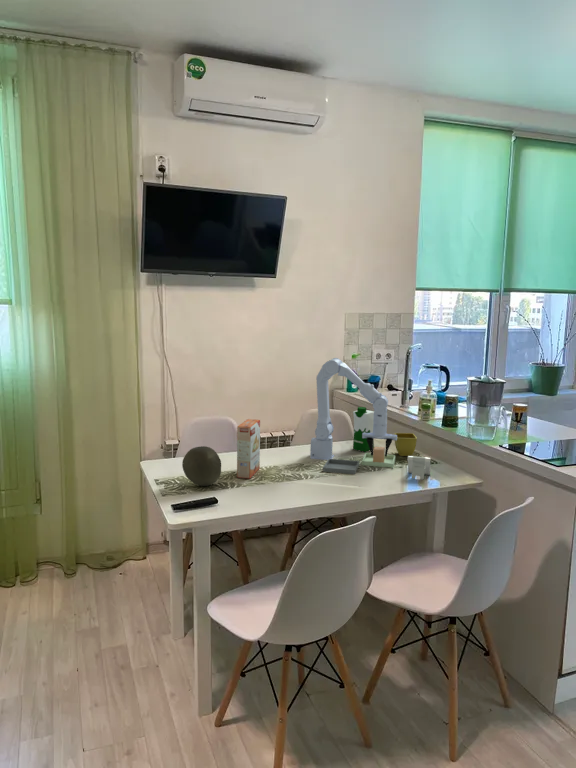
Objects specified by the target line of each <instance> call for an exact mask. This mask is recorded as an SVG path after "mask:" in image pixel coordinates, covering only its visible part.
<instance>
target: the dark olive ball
mask: <svg viewBox="0 0 576 768" xmlns="http://www.w3.org/2000/svg"><path fill="white" fill-rule="evenodd" d="M182 471H183V473H184V475H185V476H186V478H187V479H188V480H189V481H190V482H192V483H193V484H195V485H197V486H202V487H207V486H211V485H213V484H215V483H216V482H217V481H218V480H219V479H220V478H221V477H220V476H221V474H222V461H221V459H220V456H219V454H218V453H217V452H216V451H215V450H214V449H213V448H211V447H210V446H206V445H204V446H196V447H192V448H191V449H189V450H188V451H187V452H186V454H185V455H184V456H183V459H182Z"/></svg>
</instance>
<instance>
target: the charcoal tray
mask: <svg viewBox="0 0 576 768" xmlns="http://www.w3.org/2000/svg"><path fill="white" fill-rule="evenodd" d="M359 466H360V460H350V459H349V460H348V459H340V458H339V459H337V458H332V459H328V460H326V462H325V464H324V465H323V467H322V472H326V473H327V472H328V473H334V474H335V473H336V474H346V475H347V474H349V475H355V474H356V473H357V471H358V469H359Z"/></svg>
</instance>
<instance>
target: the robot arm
mask: <svg viewBox="0 0 576 768" xmlns="http://www.w3.org/2000/svg"><path fill="white" fill-rule="evenodd" d="M336 374H337V376H338V377H339V376H340V377H345V378H346V379H347V380H348V381H350V382H351V383H352V384H354V385H355V386H356V387H357V388H358V389H359V394H360V395H361V396H362V397H363V398H365V400H367V401H368V402H369V403H370V404H372V408H373V411H374V417H373V433H363V434H362V438H367V443H368V445H369V448H370V453H371V455H372V456H373V440H374V439H376V440H385V457H387V455H388V453H389V452H388V451H389V449H390V447H391V445H392V442H393V441H395V440H396V441H397V435H394V434H392V433H388V432H387V430H388V429H387V428H388V406H389V399H388V397H387V396H386V395H384V394H383V393H382V392H379V391H378V390H377V389H376V388H375V385H374V384H373V383H372V384H371V383H370V382H365V381H364V380H362V379H361V378H360V377H359V376H358V375H357V374H356V373H355V372H354V371H353V370H352V368H350V367H349V365H348V364H347V363H345V362H344V361H342V360H341V359H340V358H339V357H333V358H331V359H330V360H327V361H326V362H324V364H323V365H322V366H321V368H320V370H319V372H317V375H316V395H317V397H316V398H317V402H316V403H317V421H316V428H315V430H314V435H315V436H316V437H311V440H310V449H309V450H310V452H309V455H310V456H309V457H310V458H309V459H312V460H323V461H328V459H334V457H335V454H333V438H334V437H333V435H332V434H333V432H334V428H335V427H334V424H333V423H332V418H331V416H330V415H331V414H330V393H329V380H330V379H331V378H332V377H334V376H335V375H336Z"/></svg>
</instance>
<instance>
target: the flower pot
mask: <svg viewBox="0 0 576 768" xmlns="http://www.w3.org/2000/svg"><path fill="white" fill-rule="evenodd" d="M393 435H397V441H396V440H394V446H395V449H396V451H397V453H398V456H400V457H408V456H412V455H413V454H414V453H415V450H416V446H417V442H418V437H417V436H416V435H415V434H414V432H412V433H411V432H408V433H407V432H394V433H393Z"/></svg>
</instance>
